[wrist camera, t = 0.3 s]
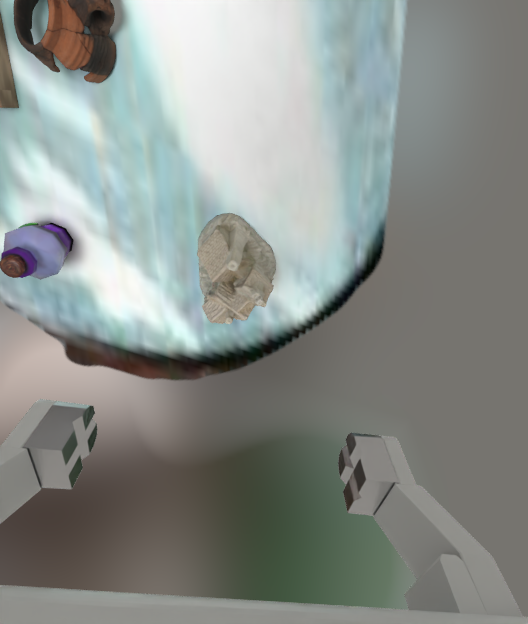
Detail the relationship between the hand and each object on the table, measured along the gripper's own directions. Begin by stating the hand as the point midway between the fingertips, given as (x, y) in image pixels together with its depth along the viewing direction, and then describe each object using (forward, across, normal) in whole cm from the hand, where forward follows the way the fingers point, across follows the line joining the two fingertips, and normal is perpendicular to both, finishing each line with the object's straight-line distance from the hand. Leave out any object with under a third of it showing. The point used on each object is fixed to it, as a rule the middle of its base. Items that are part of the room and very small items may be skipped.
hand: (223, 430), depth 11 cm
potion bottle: (+48, +32, +16) cm, 59 cm away
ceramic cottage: (+48, +2, +16) cm, 50 cm away
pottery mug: (+48, +24, -13) cm, 55 cm away
